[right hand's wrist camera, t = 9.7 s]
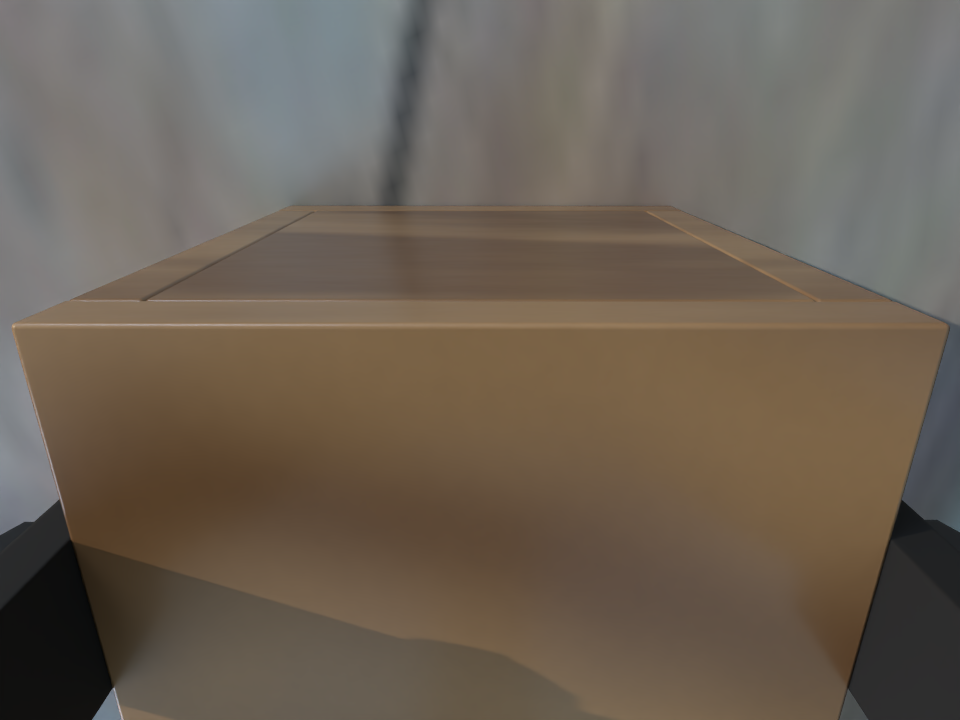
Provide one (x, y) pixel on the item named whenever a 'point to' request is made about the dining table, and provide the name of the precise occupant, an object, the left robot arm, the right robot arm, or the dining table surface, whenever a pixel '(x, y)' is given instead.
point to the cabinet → (480, 467)
